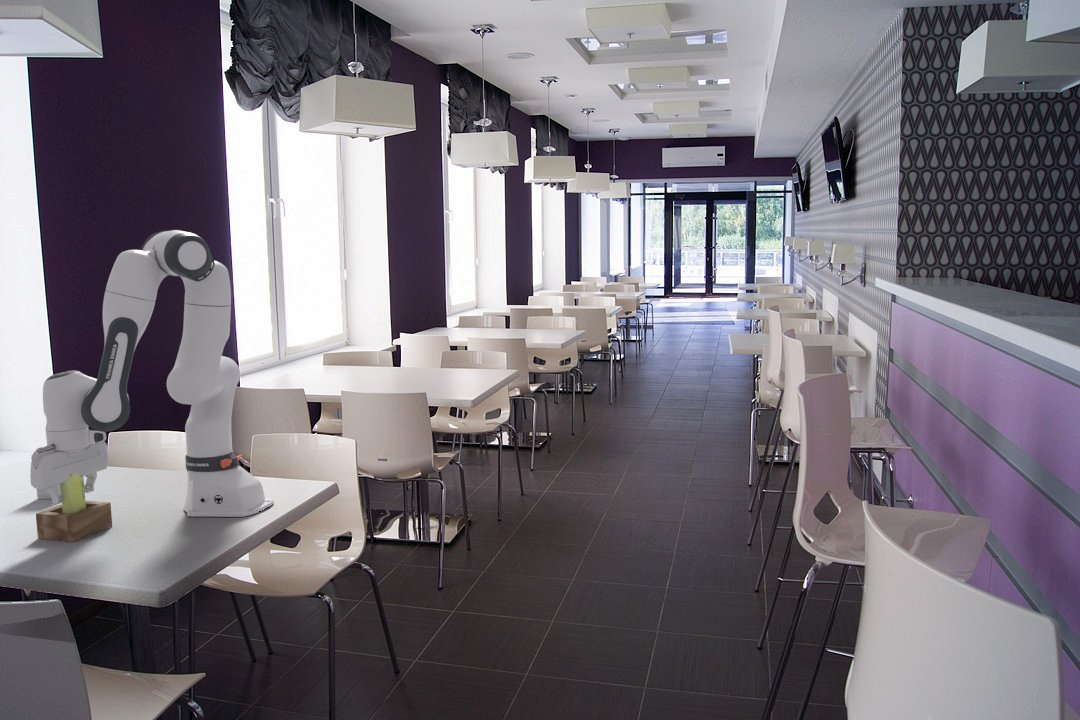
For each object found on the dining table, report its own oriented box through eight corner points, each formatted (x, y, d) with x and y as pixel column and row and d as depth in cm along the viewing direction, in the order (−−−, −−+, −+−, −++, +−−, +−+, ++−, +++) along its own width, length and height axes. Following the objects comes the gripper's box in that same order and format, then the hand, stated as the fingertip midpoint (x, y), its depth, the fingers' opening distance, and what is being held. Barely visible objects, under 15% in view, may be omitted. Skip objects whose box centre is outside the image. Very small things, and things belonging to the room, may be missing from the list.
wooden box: (112, 526, 210) (110, 502, 210) (75, 541, 199) (72, 516, 199) (76, 523, 213) (74, 499, 213) (37, 538, 202) (35, 513, 201)
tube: (88, 534, 205) (81, 453, 202) (64, 538, 202) (57, 456, 200) (87, 528, 209) (80, 449, 207) (63, 531, 207) (56, 451, 205)
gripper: (42, 450, 193) (48, 510, 195) (111, 431, 212) (116, 486, 214) (20, 449, 195) (26, 509, 196) (90, 431, 214) (95, 485, 216)
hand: (73, 497), depth 205 cm, fingers open, 8 cm apart
